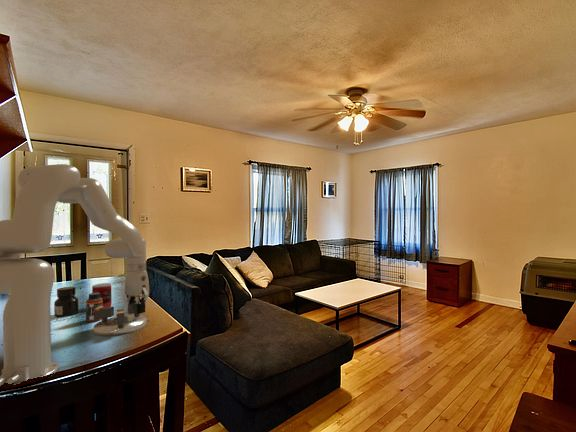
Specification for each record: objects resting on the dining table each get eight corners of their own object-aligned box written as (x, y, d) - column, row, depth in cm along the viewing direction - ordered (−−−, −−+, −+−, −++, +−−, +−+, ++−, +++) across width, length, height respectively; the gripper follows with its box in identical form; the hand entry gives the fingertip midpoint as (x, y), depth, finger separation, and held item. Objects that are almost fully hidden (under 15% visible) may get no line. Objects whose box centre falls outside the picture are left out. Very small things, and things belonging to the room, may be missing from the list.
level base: (137, 333, 107) (137, 323, 107) (83, 338, 104) (83, 327, 104) (152, 317, 125) (152, 308, 125) (106, 321, 122) (106, 311, 122)
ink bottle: (54, 314, 134) (54, 288, 134) (78, 310, 139) (77, 284, 140) (54, 319, 126) (54, 291, 127) (79, 314, 132) (78, 288, 132)
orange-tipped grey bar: (114, 320, 116) (113, 306, 116) (110, 322, 113) (109, 307, 113) (99, 320, 116) (98, 306, 116) (94, 322, 113) (94, 308, 113)
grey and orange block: (131, 319, 117) (131, 304, 117) (128, 318, 118) (127, 304, 118) (145, 314, 122) (145, 301, 122) (141, 313, 123) (141, 300, 123)
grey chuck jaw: (117, 324, 111) (116, 309, 111) (124, 323, 112) (124, 308, 112) (116, 329, 106) (116, 313, 106) (124, 328, 107) (124, 312, 107)
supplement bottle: (94, 322, 120) (94, 295, 120) (82, 322, 121) (81, 295, 122) (106, 318, 126) (105, 291, 126) (94, 317, 127) (94, 291, 127)
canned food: (94, 306, 145) (93, 284, 145) (112, 303, 149) (112, 282, 149) (91, 310, 138) (90, 287, 139) (110, 307, 142) (110, 285, 142)
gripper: (157, 267, 119) (158, 312, 119) (132, 265, 128) (133, 307, 128) (139, 270, 113) (140, 317, 112) (115, 268, 121) (116, 311, 121)
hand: (136, 311), depth 120 cm, fingers open, 5 cm apart
